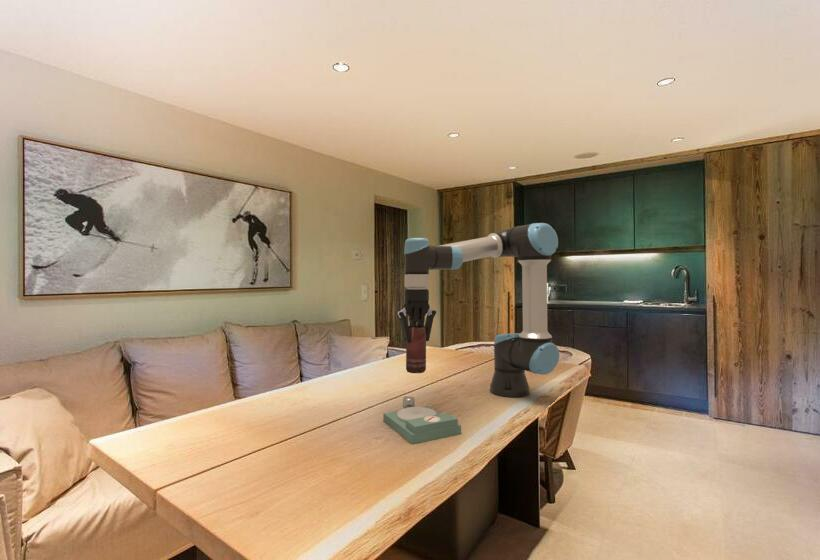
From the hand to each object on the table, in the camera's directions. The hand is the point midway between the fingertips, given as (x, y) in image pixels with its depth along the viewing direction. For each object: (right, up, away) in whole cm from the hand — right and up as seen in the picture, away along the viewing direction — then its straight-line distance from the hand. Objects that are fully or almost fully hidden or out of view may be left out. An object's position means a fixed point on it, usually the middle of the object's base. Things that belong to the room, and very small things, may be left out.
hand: (416, 364), depth 125 cm
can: (0, -2, 0) cm, 2 cm away
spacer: (-3, -18, +14) cm, 23 cm away
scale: (+1, -18, -2) cm, 19 cm away
